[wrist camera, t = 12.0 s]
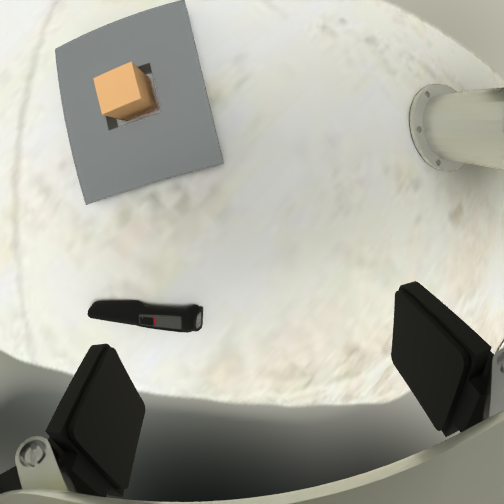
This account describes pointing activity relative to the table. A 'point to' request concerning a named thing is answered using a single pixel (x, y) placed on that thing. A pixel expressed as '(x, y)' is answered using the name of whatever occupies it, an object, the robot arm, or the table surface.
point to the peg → (125, 93)
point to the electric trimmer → (148, 315)
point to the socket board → (147, 129)
